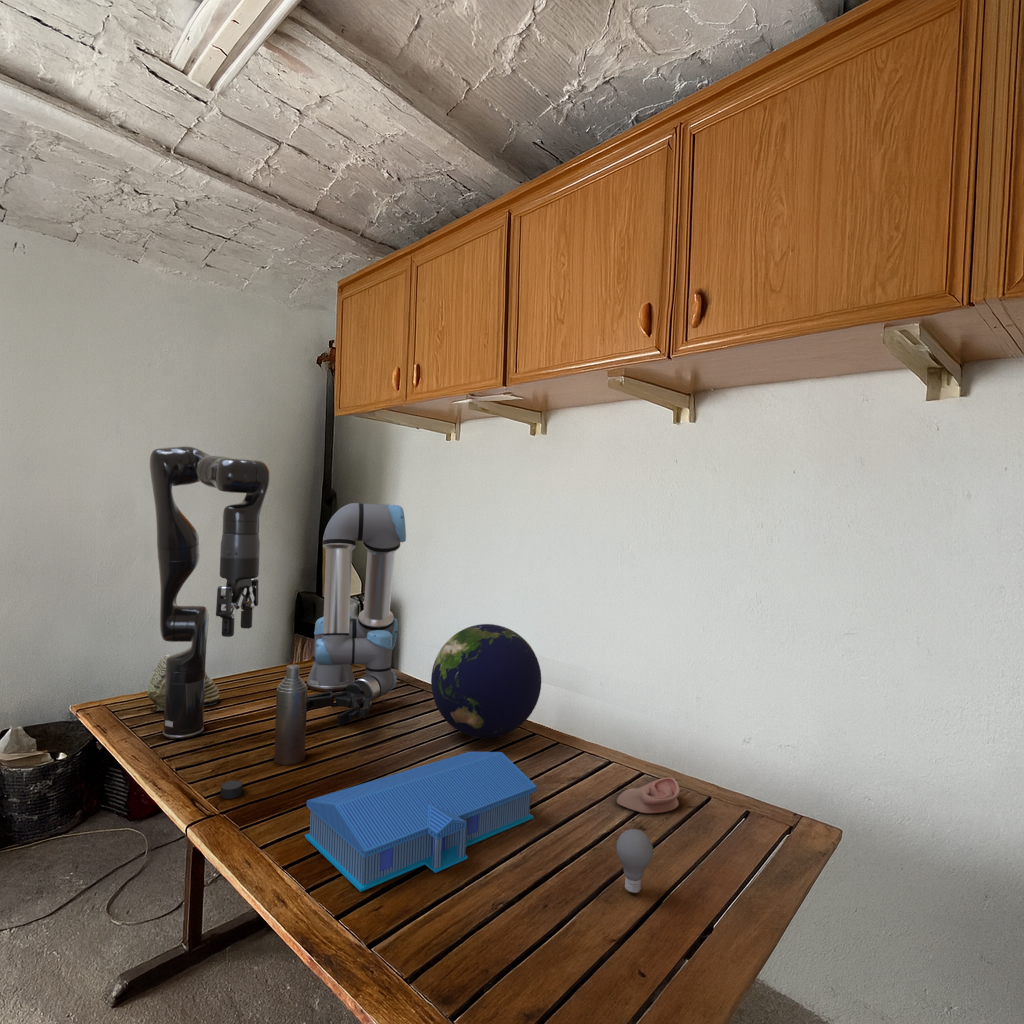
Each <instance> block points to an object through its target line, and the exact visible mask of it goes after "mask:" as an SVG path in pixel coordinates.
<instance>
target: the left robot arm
mask: <svg viewBox="0 0 1024 1024" xmlns="http://www.w3.org/2000/svg"><path fill="white" fill-rule="evenodd" d="M149 471H150V480H151V487H152V493H153V500H154V508H155V509H154V510H155V519H156V520H155V521H156V522H155V523H156V548H157V561H158V571H159V572H158V573H159V583H160V585H159V586H160V597H159V598H160V599H159V600H160V602H159V604H160V605H159V631H160V635H161V638H162V641H165V642H167V643H191V645H190V647H189V648H187V649H185V650H182V651H180V652H176V653H174V654H170V655H171V656H170V657H168V658H167V660H166V674H165V705H164V710H163V730H162V737H164V738H166V739H169V740H185V739H190V738H191V739H192V738H194V737H197V736H199V735H202V734H203V732H204V730H205V729H204V726H205V725H204V722H205V721H204V718H205V706H204V693H205V672H206V664H207V663H206V660H207V659H206V658H207V642H208V631H209V619H210V618H209V616H210V615H209V610H208V608H207V607H206V606H205V605H178V603H177V600H178V594H179V593H180V591H181V589H182V588H183V586H184V584H185V583H186V582H187V580H188V579H189V578H190V576H191V575H192V574H193V573H194V570H195V569H196V568H197V566H198V564H199V561H200V537H199V533H198V532H197V529H196V528H195V526H194V525H193V524H192V523H191V522H190V520H189V519H188V518H187V517H186V516H185V514H183V513H182V511H181V510H180V509H179V507H178V506H177V503H176V501H175V498H174V495H173V487H177V486H187V485H193V484H196V483H199V482H200V483H201V484H203V485H205V486H206V487H210V488H212V489H213V488H214V489H216V490H218V491H220V492H223V493H230V494H231V493H232V494H245V496H244V497H243V500H242V501H241V502H238V503H233V504H229V505H226V506H225V507H224V508H223V512H222V535H221V541H220V553H219V554H220V556H219V558H220V559H219V577H220V578H222V579H224V580H226V582H225V586H224V585H219V586H217V588H216V589H217V590H216V603H215V604H216V607H215V616H216V617H220V618H221V636H222V637H223V638H224V637H225V638H231V637H234V635H235V616H236V614H237V611H238V610H239V609H241V611H240V628H241V629H248V630H249V629H251V628H252V627H253V615H254V614H253V612H254V611H255V607H258V605H259V578H258V577H259V575H260V550H261V549H260V548H261V543H260V542H261V541H260V534H259V533H260V515H261V512H262V511H261V510H262V509H263V504H264V501H265V498H266V495H267V492H268V489H269V486H270V483H271V474H270V469H269V467H268V466H267V464H266V463H264V462H263V461H261V460H255V459H242V458H232V457H231V458H230V457H227V456H220V455H219V456H218V455H211V454H208V453H207V452H204V451H203V450H201V449H199V448H196V447H193V446H189V445H188V446H184V445H183V446H173V447H172V446H170V447H161V448H155V449H153V450H152V452H151V453H150V456H149Z"/></svg>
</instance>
